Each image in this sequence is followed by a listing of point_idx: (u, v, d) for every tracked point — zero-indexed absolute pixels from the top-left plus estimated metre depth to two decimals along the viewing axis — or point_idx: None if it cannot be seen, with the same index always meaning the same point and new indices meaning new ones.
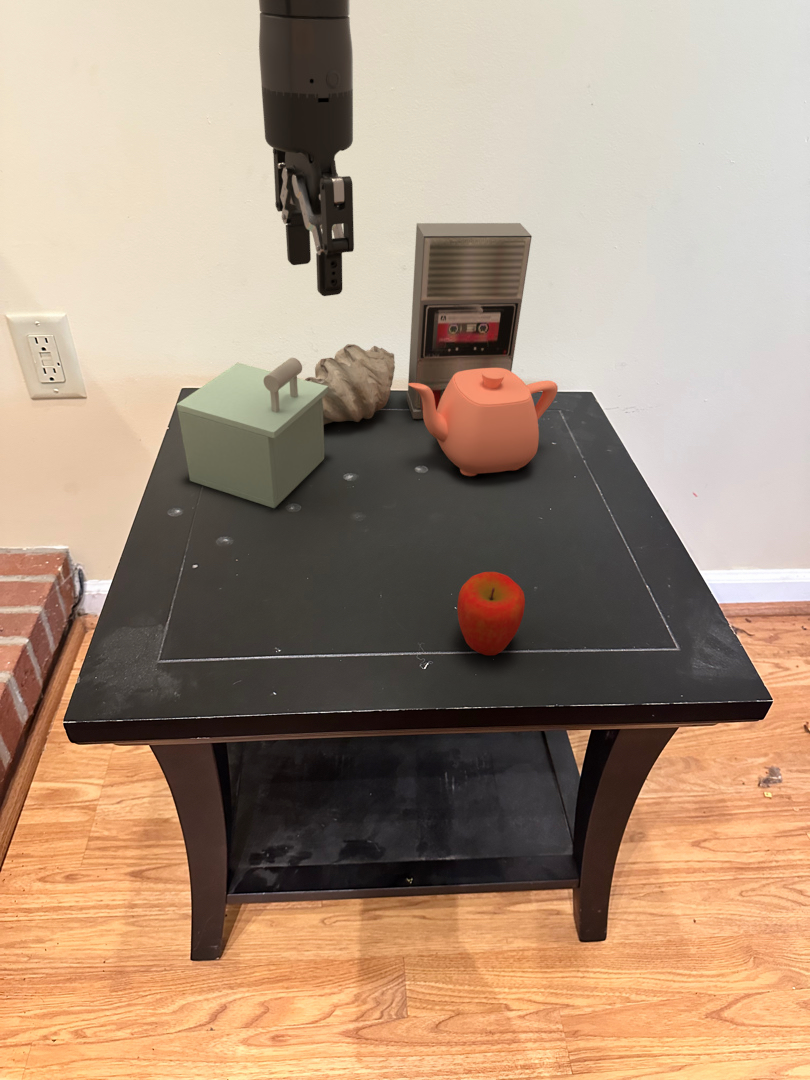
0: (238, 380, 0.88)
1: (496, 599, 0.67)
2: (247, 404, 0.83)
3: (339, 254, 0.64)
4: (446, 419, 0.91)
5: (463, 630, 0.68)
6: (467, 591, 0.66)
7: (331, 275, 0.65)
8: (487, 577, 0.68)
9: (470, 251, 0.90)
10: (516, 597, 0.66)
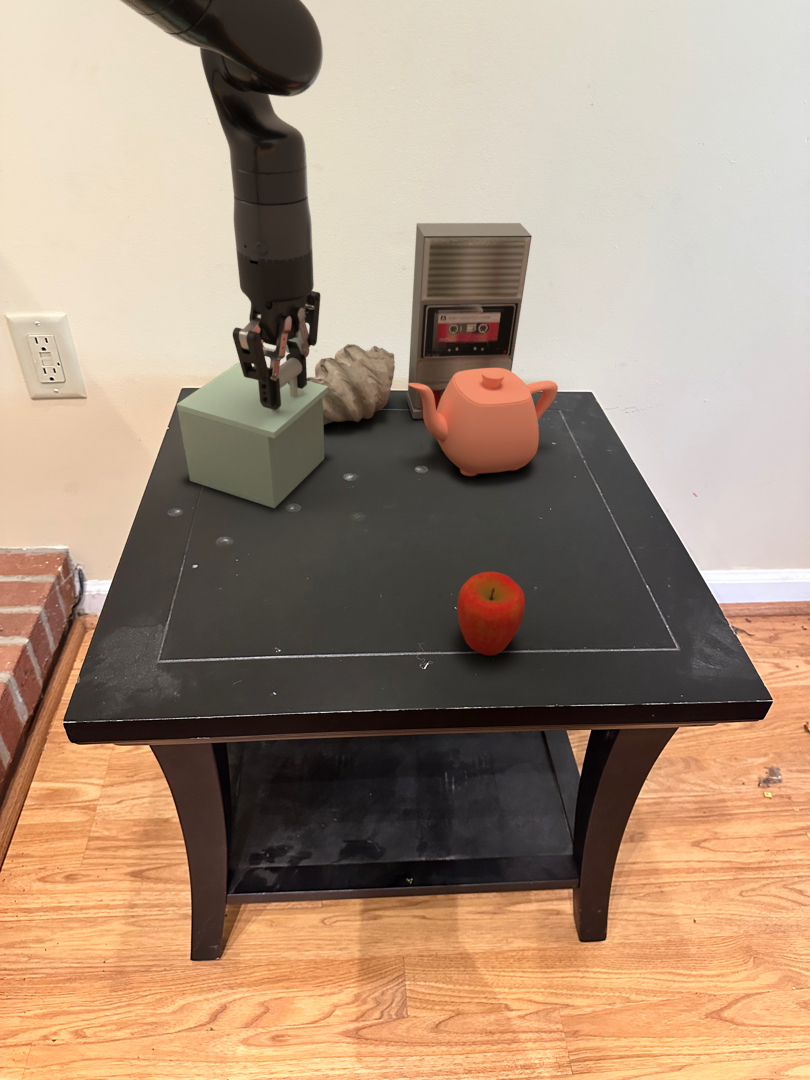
0: (238, 380, 0.88)
1: (496, 599, 0.67)
2: (247, 404, 0.83)
3: None
4: (446, 419, 0.91)
5: (463, 630, 0.68)
6: (467, 591, 0.66)
7: (263, 394, 0.79)
8: (487, 577, 0.68)
9: (470, 251, 0.90)
10: (515, 597, 0.66)
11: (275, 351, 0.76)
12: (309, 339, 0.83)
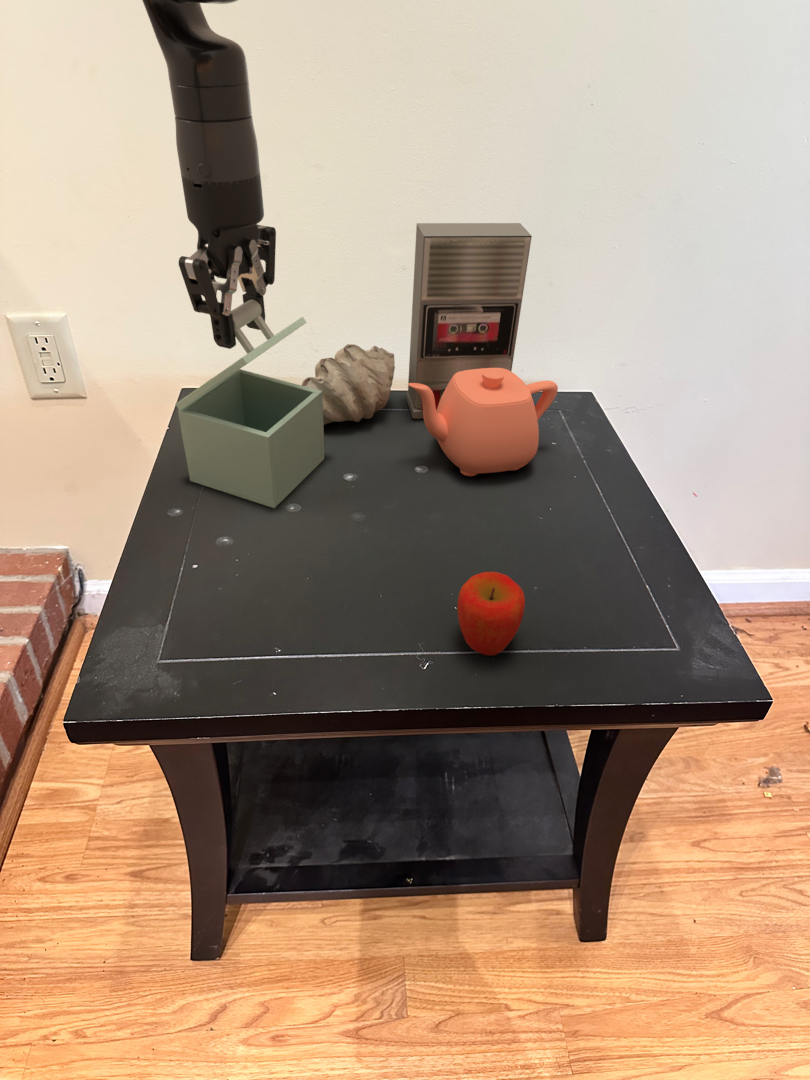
0: None
1: (496, 599, 0.67)
2: None
3: (218, 315, 0.75)
4: (446, 419, 0.91)
5: (463, 630, 0.68)
6: (467, 591, 0.66)
7: (216, 330, 0.77)
8: (487, 577, 0.68)
9: (470, 251, 0.90)
10: (516, 597, 0.66)
11: (226, 284, 0.74)
12: (266, 277, 0.81)
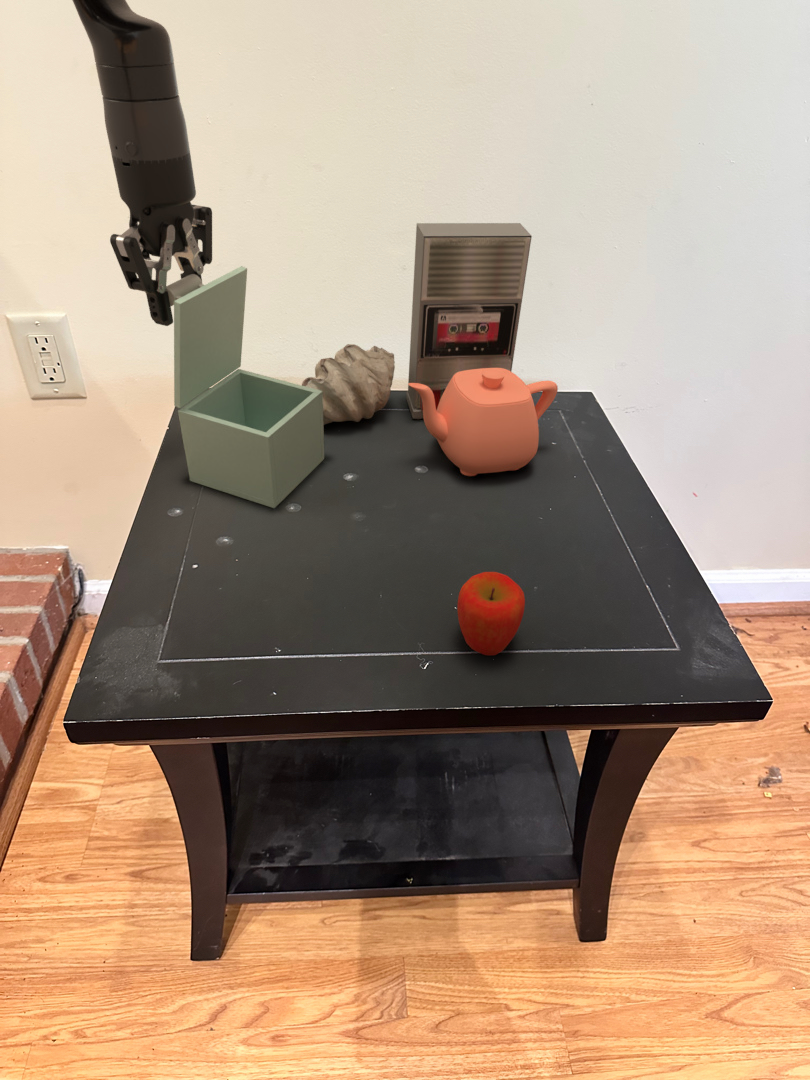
0: None
1: (496, 599, 0.67)
2: None
3: (153, 293, 0.77)
4: (446, 419, 0.91)
5: (463, 630, 0.68)
6: (467, 591, 0.66)
7: (152, 308, 0.79)
8: (487, 577, 0.68)
9: (470, 251, 0.90)
10: (515, 597, 0.66)
11: (159, 261, 0.76)
12: (203, 257, 0.82)
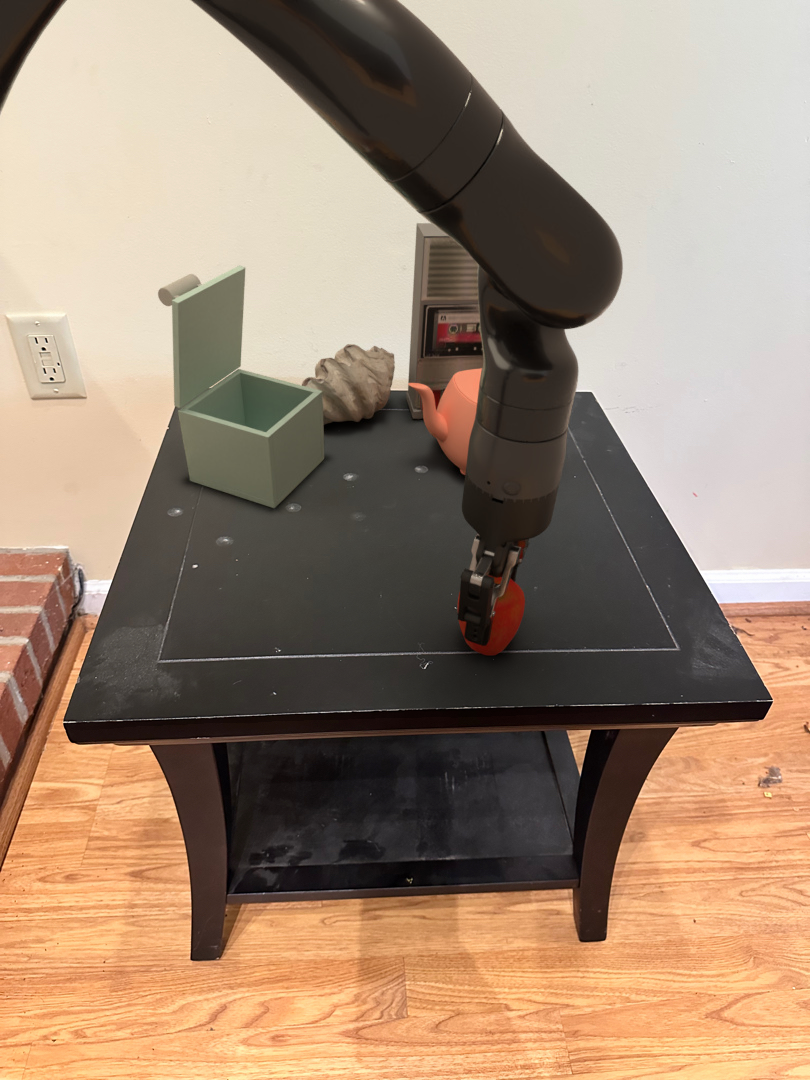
0: None
1: None
2: None
3: None
4: (446, 419, 0.91)
5: (463, 630, 0.68)
6: None
7: (472, 631, 0.64)
8: None
9: None
10: (516, 597, 0.66)
11: (499, 588, 0.61)
12: None
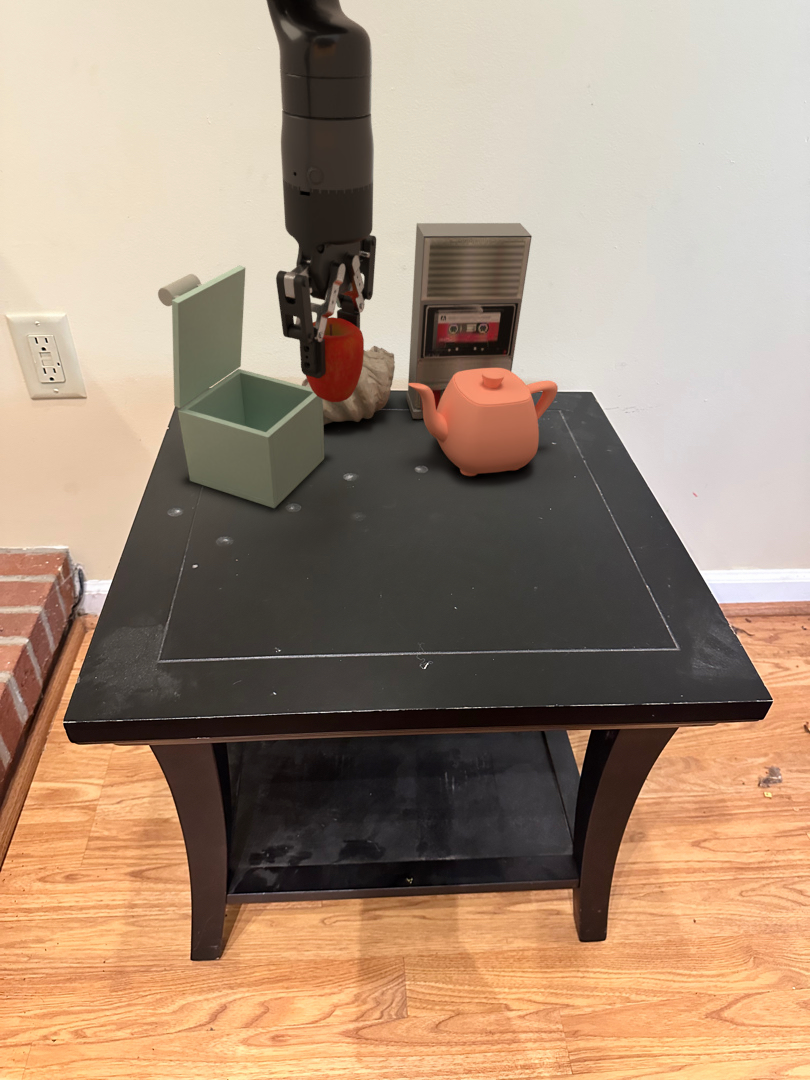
0: None
1: None
2: None
3: (310, 341, 0.65)
4: (446, 419, 0.91)
5: None
6: None
7: (305, 358, 0.66)
8: (329, 320, 0.70)
9: (470, 251, 0.90)
10: (352, 333, 0.68)
11: (323, 305, 0.64)
12: (364, 292, 0.71)
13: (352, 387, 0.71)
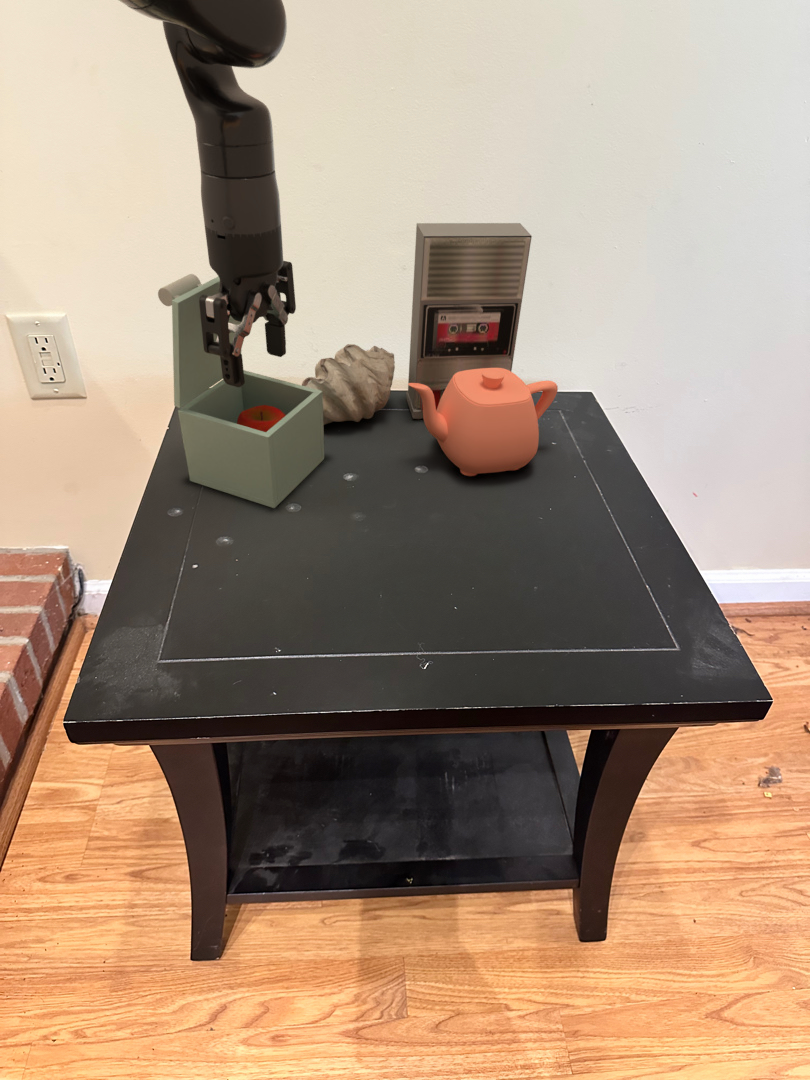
0: None
1: None
2: None
3: (228, 356, 0.76)
4: (446, 419, 0.91)
5: None
6: (241, 414, 0.87)
7: (225, 370, 0.78)
8: (261, 407, 0.88)
9: (470, 251, 0.90)
10: (277, 419, 0.86)
11: (240, 325, 0.75)
12: (288, 307, 0.83)
13: None
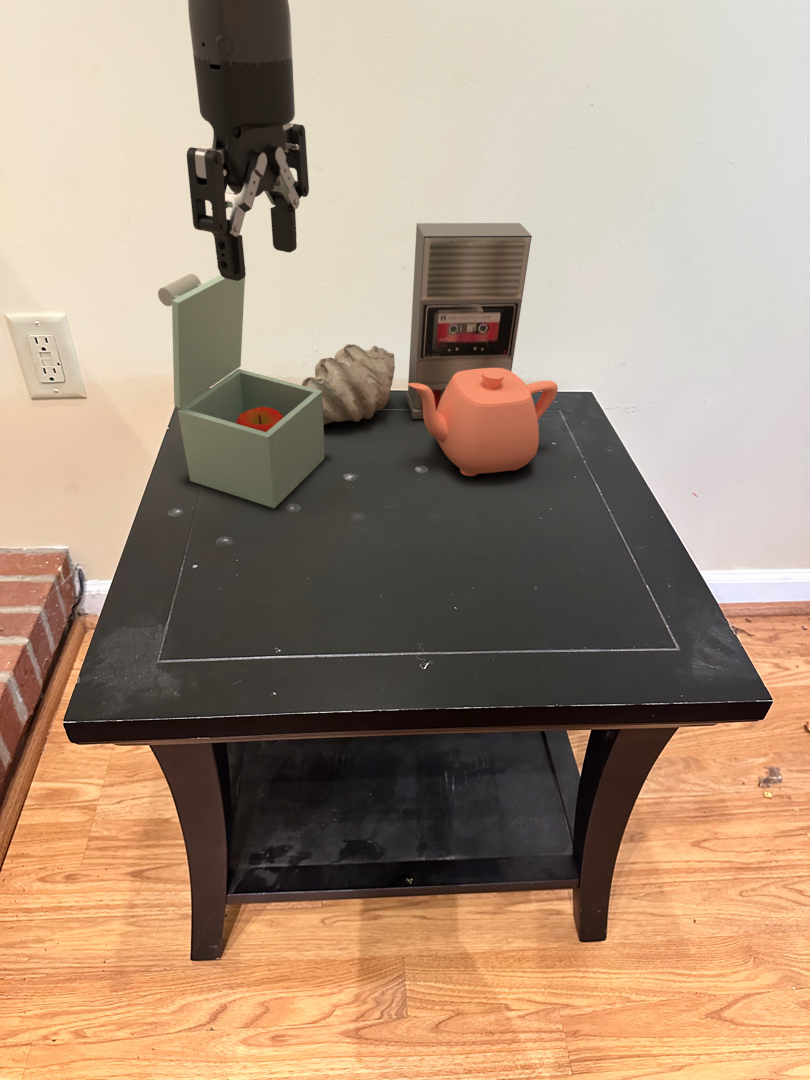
0: None
1: None
2: None
3: (224, 236, 0.60)
4: (446, 419, 0.91)
5: None
6: (239, 417, 0.87)
7: (221, 256, 0.61)
8: (259, 409, 0.88)
9: (470, 251, 0.90)
10: (275, 421, 0.86)
11: (240, 194, 0.59)
12: (299, 187, 0.67)
13: None
